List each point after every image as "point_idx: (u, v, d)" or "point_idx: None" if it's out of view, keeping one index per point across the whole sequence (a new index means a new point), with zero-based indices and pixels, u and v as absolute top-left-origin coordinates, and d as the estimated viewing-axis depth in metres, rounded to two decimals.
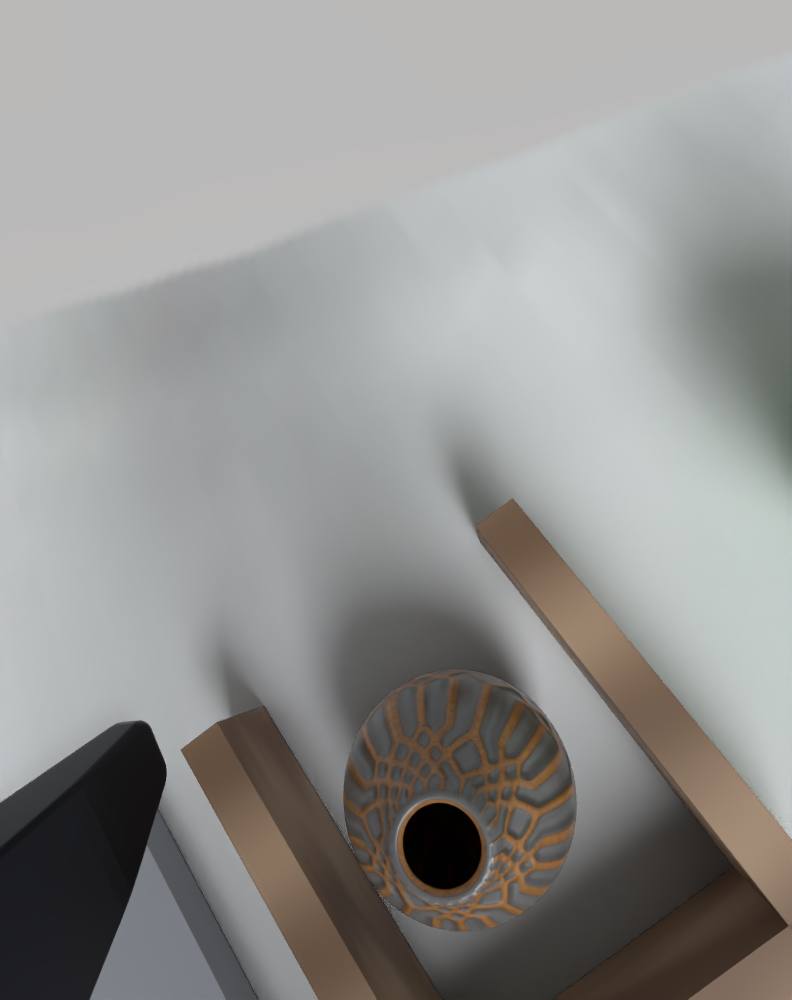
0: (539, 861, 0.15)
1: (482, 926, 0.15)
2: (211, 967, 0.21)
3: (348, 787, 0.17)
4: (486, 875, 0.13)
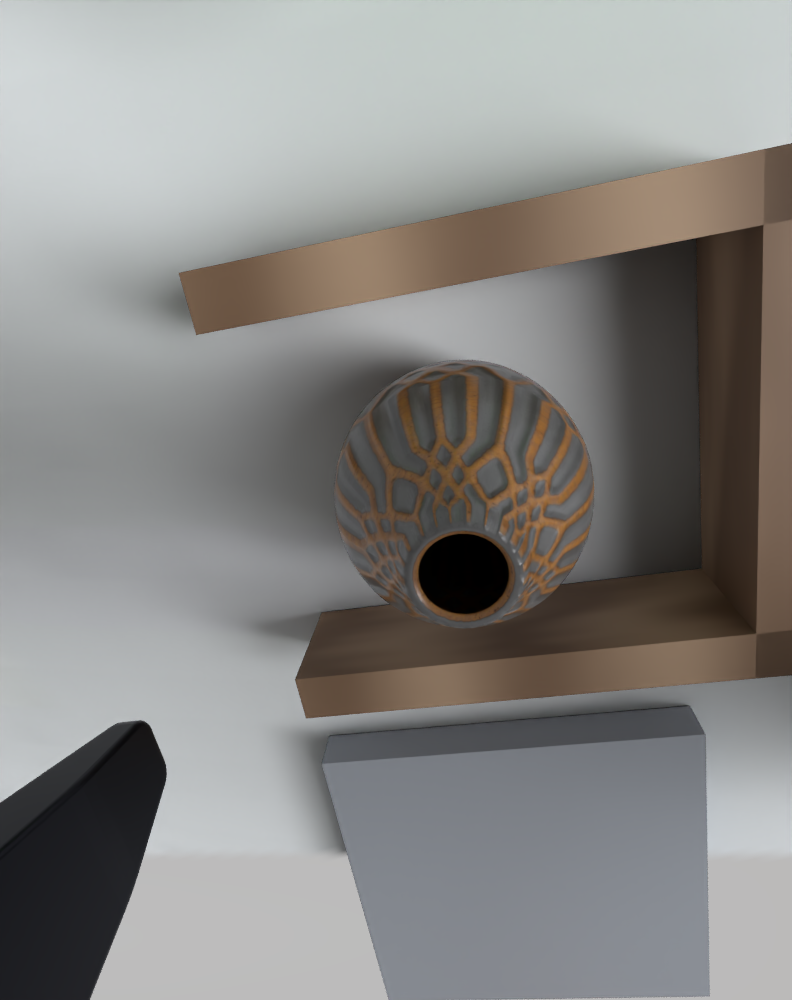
0: (545, 469, 0.13)
1: (576, 549, 0.14)
2: (510, 747, 0.22)
3: (394, 606, 0.15)
4: (510, 548, 0.11)
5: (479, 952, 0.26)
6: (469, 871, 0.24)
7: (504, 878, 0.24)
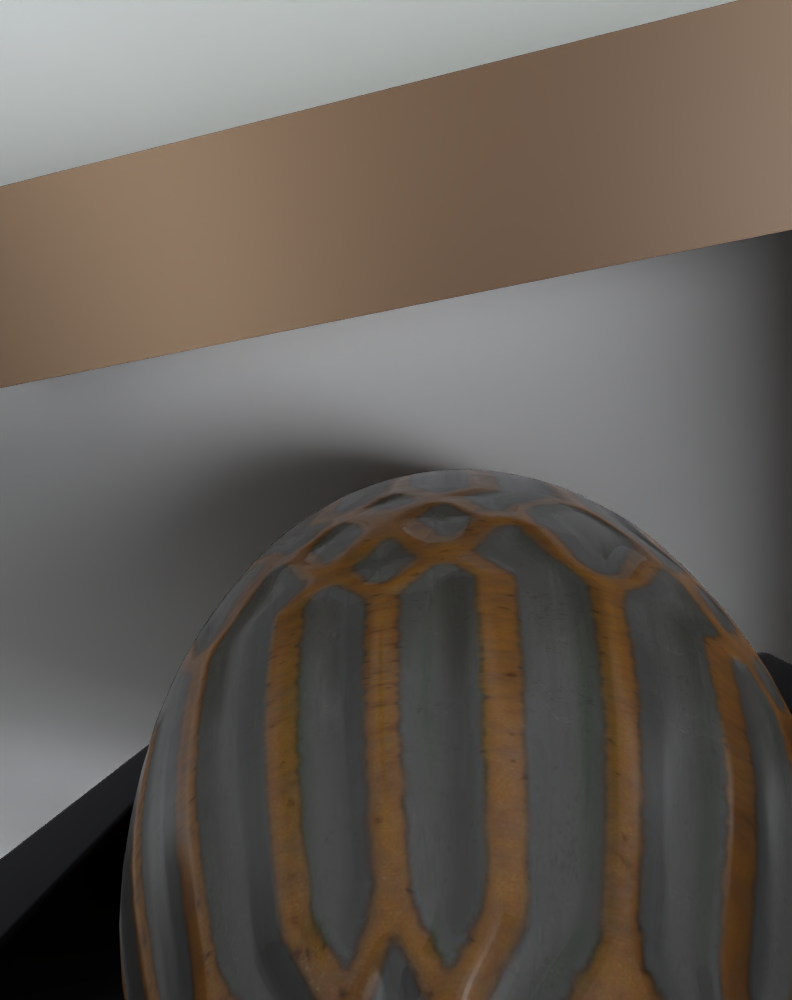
0: (788, 997, 0.03)
1: None
2: None
3: None
4: None
5: None
6: None
7: None
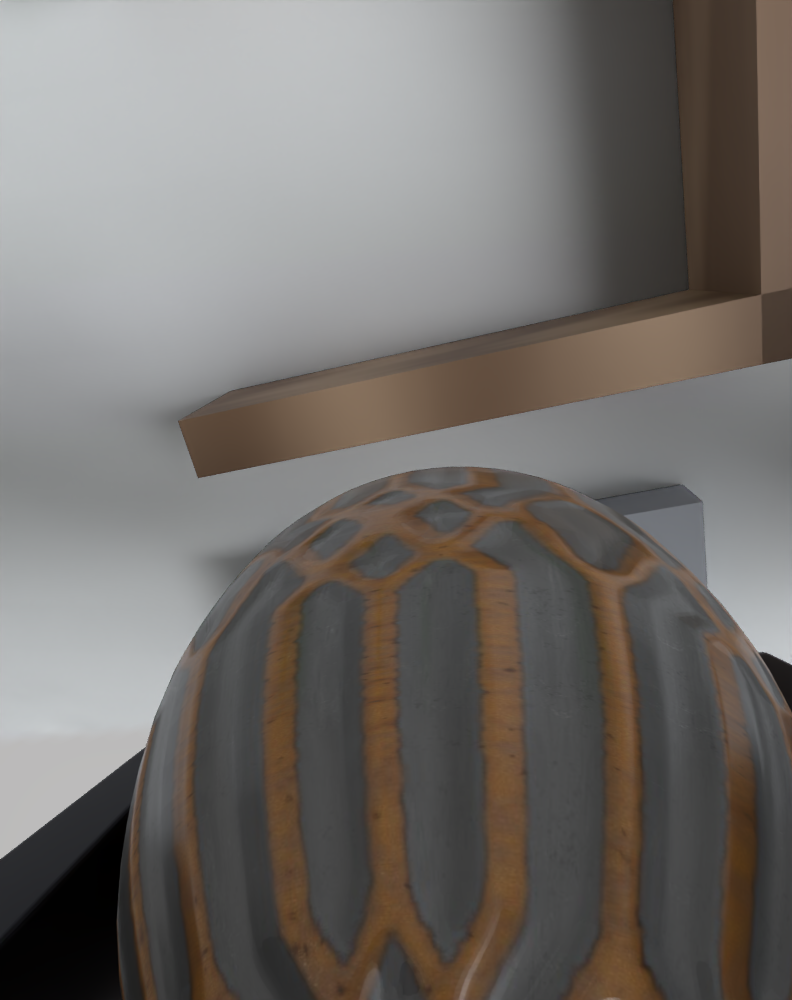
0: (788, 994, 0.03)
1: None
2: None
3: None
4: None
5: None
6: None
7: None
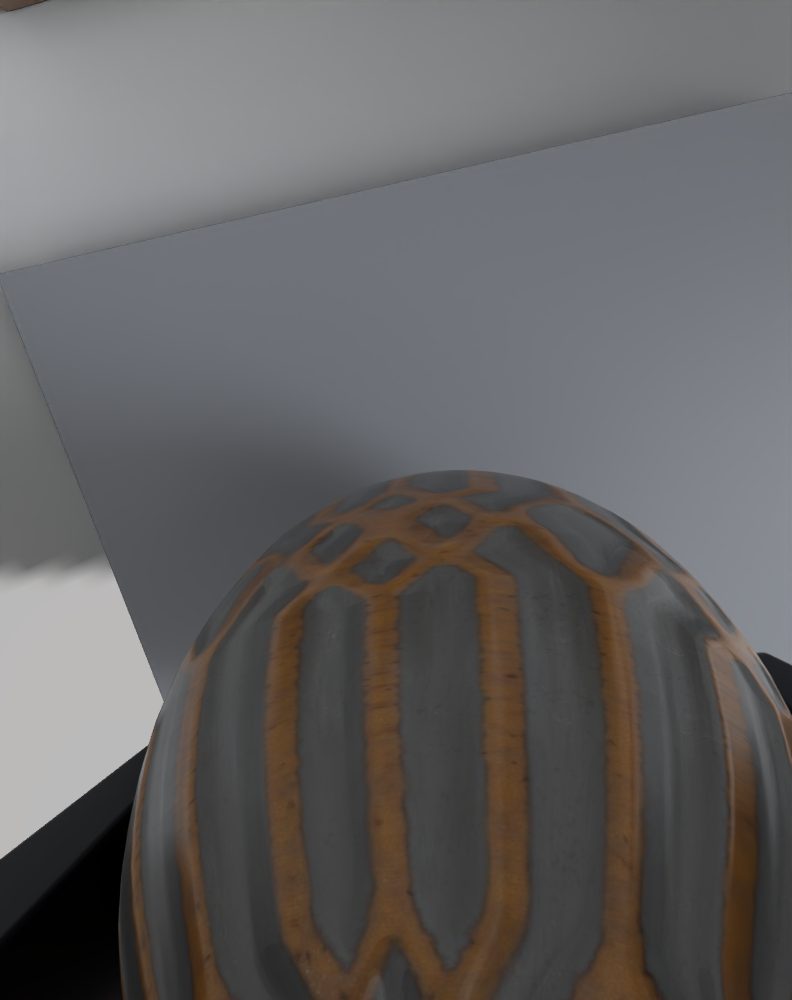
0: None
1: None
2: (396, 184, 0.10)
3: None
4: None
5: None
6: None
7: None
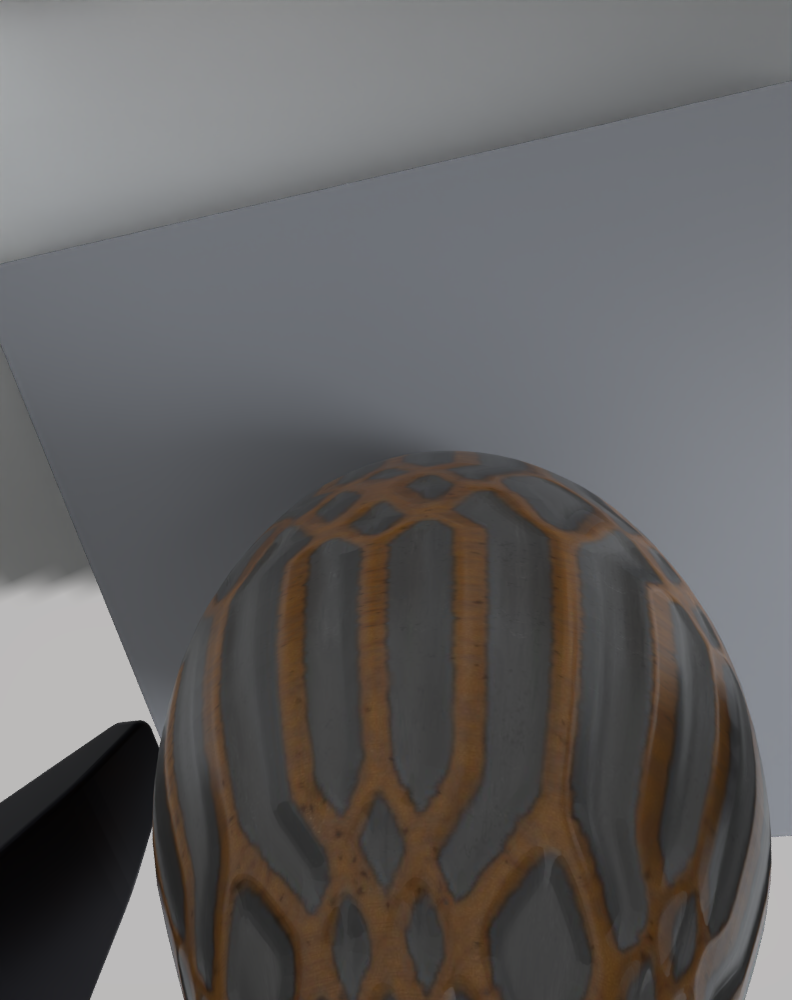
0: (692, 851, 0.04)
1: None
2: (399, 171, 0.09)
3: None
4: None
5: None
6: None
7: None
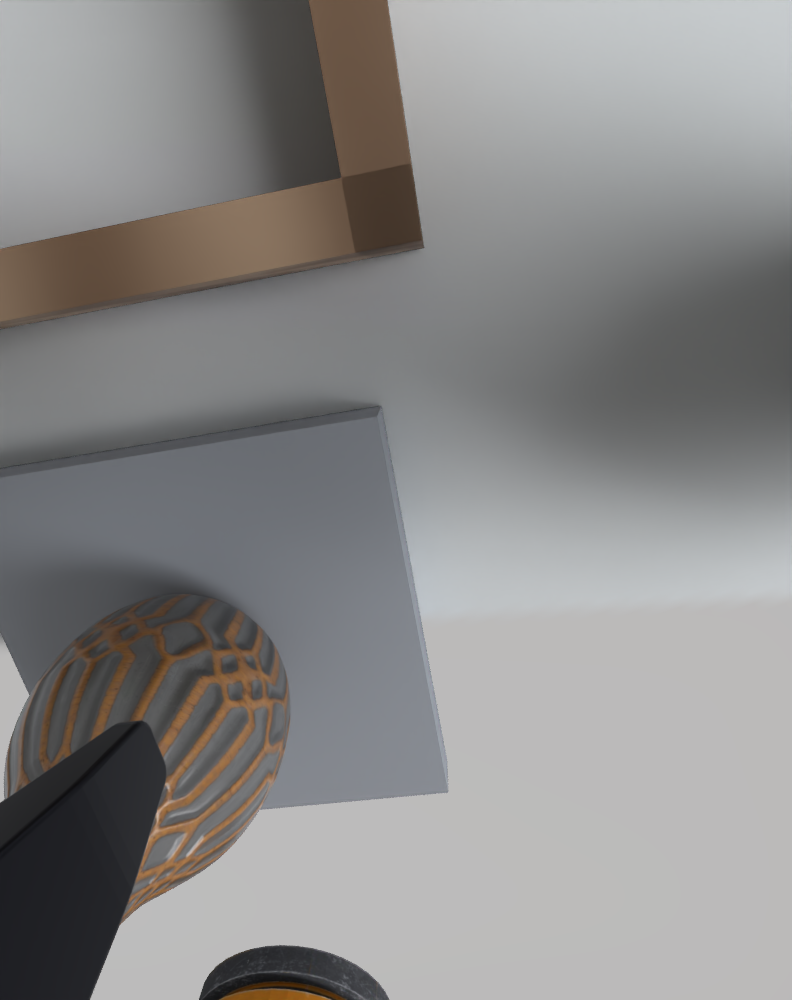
0: (171, 773, 0.13)
1: (228, 827, 0.14)
2: (155, 451, 0.18)
3: None
4: None
5: None
6: None
7: None
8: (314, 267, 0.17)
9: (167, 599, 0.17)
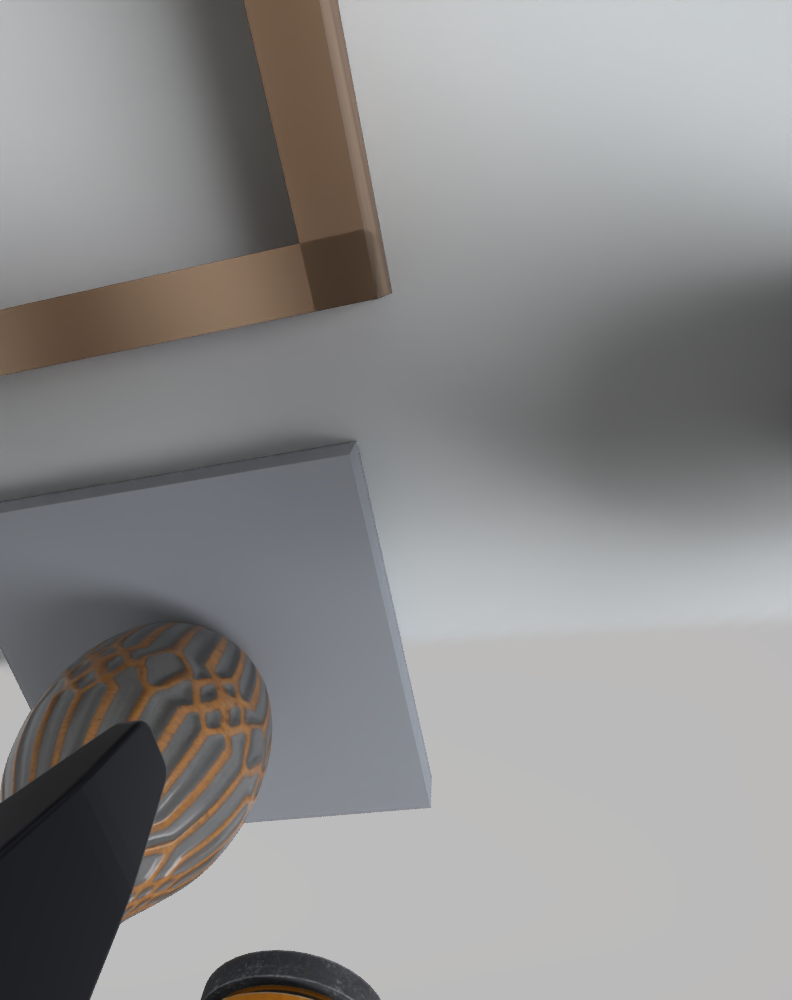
0: None
1: (206, 847, 0.15)
2: (142, 488, 0.19)
3: None
4: None
5: None
6: None
7: None
8: None
9: (153, 629, 0.18)
